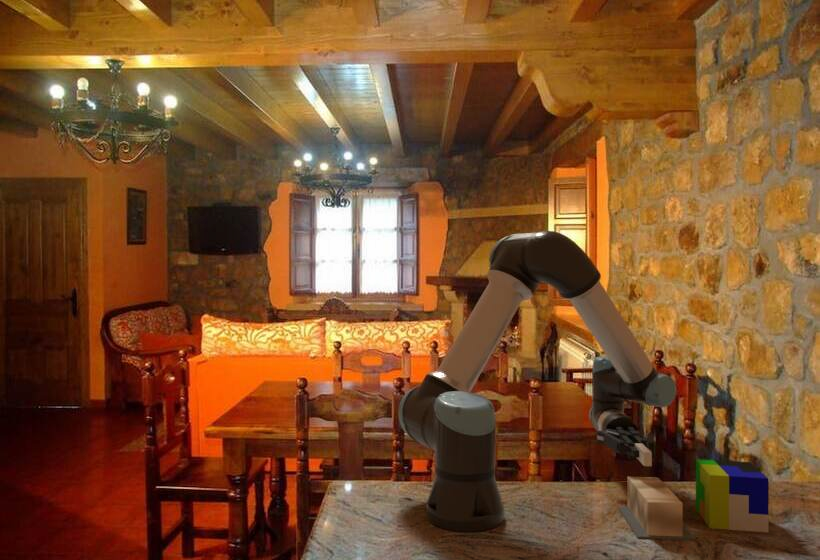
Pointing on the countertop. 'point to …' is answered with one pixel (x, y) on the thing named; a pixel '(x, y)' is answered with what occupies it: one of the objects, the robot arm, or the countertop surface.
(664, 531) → the beech block
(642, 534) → the rubber mat
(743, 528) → the puzzle toy
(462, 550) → the countertop surface
